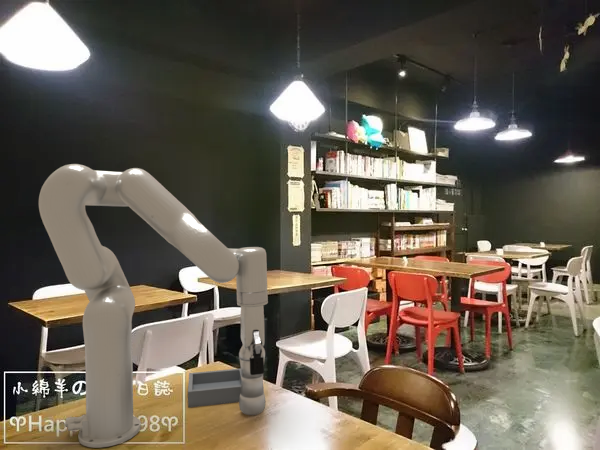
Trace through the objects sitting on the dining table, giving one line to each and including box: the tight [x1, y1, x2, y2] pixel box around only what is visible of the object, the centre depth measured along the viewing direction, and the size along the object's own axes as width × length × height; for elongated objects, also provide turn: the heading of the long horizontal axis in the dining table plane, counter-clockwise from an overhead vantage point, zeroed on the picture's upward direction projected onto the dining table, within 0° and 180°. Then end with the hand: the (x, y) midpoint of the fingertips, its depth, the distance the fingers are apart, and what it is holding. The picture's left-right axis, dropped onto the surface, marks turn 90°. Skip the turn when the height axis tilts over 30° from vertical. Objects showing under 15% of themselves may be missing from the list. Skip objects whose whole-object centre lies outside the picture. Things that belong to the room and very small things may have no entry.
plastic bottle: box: [238, 345, 267, 416], centre depth 101 cm, size 6×7×20 cm
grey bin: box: [187, 367, 242, 408], centre depth 112 cm, size 15×13×4 cm
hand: (254, 366), depth 101 cm, fingers open, 9 cm apart
